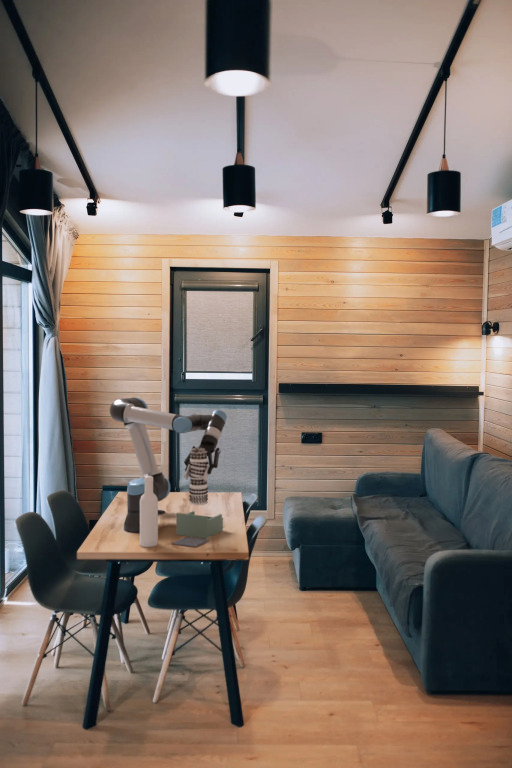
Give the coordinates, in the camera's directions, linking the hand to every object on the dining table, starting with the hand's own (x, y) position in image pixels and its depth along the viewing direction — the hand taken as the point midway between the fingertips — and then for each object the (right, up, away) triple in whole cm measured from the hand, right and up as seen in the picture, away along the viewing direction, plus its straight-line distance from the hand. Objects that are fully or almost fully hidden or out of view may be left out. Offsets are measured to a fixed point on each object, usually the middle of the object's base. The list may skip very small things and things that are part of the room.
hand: (195, 478), depth 285 cm
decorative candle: (+1, -12, +4) cm, 12 cm away
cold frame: (+1, -28, +16) cm, 32 cm away
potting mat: (-2, -28, -2) cm, 28 cm away
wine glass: (-27, -27, +57) cm, 68 cm away
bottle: (-20, -28, -6) cm, 35 cm away
